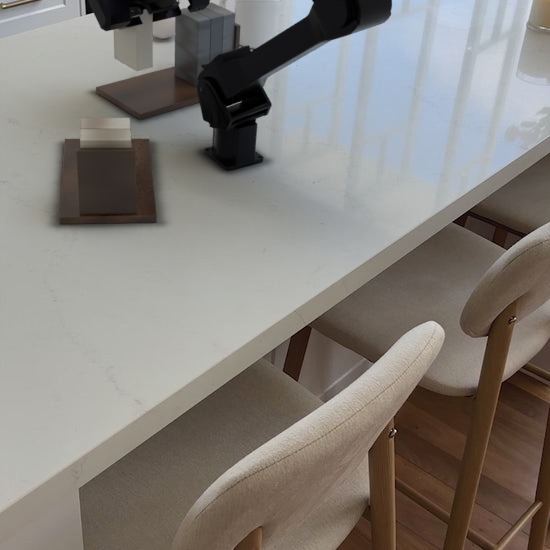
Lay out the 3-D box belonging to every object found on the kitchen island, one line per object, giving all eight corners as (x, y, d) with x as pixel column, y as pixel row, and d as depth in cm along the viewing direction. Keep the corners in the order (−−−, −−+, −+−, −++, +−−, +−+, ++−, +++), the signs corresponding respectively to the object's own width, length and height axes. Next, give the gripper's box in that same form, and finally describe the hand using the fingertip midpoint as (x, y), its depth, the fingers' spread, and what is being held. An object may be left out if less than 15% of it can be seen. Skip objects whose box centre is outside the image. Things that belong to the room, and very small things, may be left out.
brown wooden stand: (149, 144, 129) (149, 73, 123) (156, 222, 112) (156, 144, 106) (65, 144, 127) (60, 72, 121) (59, 224, 110) (53, 144, 104)
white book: (152, 67, 136) (152, 2, 131) (136, 71, 135) (136, 6, 129) (130, 54, 140) (128, -9, 134) (114, 58, 138) (112, -6, 132)
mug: (207, 38, 166) (209, -17, 160) (228, 26, 172) (231, -28, 166) (265, 53, 162) (269, -3, 156) (284, 39, 168) (289, -15, 162)
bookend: (248, 87, 149) (253, 17, 142) (140, 120, 136) (139, 44, 129) (203, 63, 156) (205, -5, 149) (95, 92, 142) (92, 19, 136)
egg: (169, 46, 161) (170, 4, 157) (140, 39, 163) (139, -2, 158) (184, 36, 166) (185, -5, 161) (155, 29, 167) (155, -11, 163)
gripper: (200, -90, 128) (154, -33, 140) (90, -74, 117) (50, -14, 129) (233, -19, 128) (184, 31, 140) (126, 2, 117) (83, 55, 129)
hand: (127, 24), depth 135 cm, fingers closed on white book, 3 cm apart
